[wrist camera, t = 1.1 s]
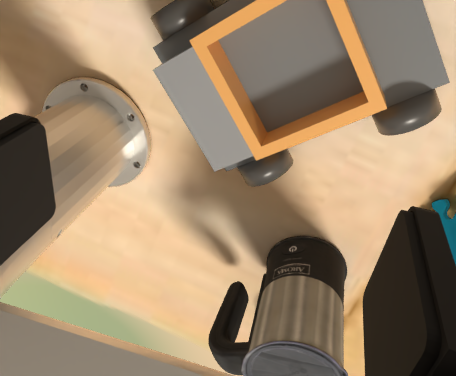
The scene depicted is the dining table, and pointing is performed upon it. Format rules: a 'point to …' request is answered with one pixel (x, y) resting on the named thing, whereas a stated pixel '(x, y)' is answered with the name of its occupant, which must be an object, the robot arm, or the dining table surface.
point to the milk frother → (287, 315)
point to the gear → (447, 223)
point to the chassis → (294, 74)
